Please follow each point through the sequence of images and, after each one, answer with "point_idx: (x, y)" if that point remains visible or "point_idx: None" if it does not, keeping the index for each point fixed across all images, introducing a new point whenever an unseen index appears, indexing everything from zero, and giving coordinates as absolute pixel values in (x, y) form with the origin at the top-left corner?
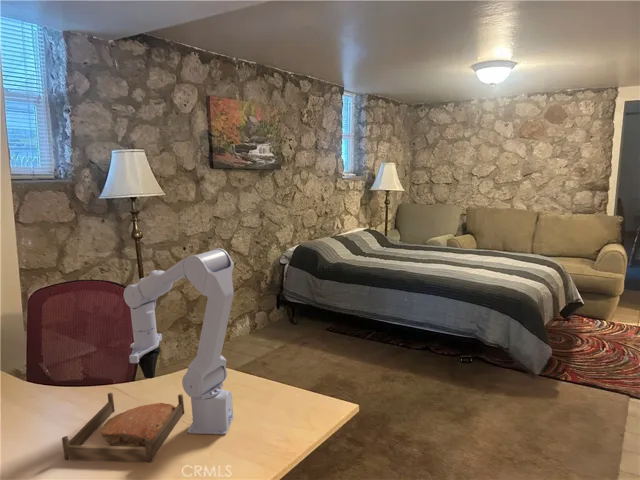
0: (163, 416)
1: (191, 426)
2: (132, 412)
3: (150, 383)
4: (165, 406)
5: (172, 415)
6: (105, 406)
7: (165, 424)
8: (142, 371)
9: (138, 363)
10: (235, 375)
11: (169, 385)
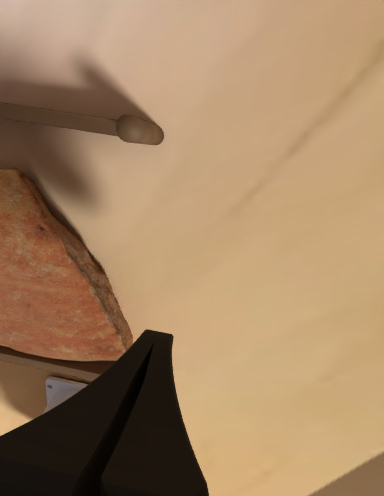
0: (36, 354)
1: (66, 385)
2: (29, 267)
3: (370, 225)
4: (90, 351)
5: (55, 369)
6: (95, 124)
7: (11, 358)
8: (124, 353)
9: (66, 401)
10: (335, 463)
11: (325, 300)
